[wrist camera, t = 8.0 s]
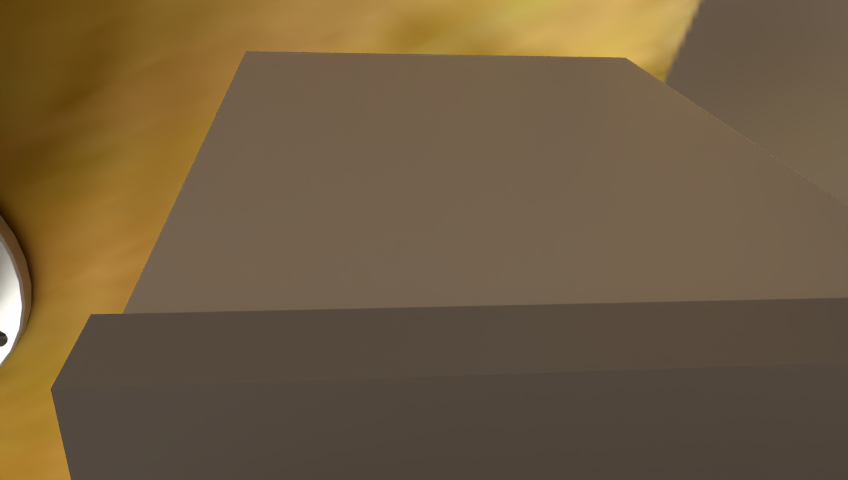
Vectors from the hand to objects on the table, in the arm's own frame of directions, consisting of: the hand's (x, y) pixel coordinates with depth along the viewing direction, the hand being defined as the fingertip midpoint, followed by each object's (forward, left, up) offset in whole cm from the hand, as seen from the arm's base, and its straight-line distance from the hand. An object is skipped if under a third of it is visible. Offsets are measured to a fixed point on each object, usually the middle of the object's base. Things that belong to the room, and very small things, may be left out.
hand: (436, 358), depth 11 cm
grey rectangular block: (0, 0, -1) cm, 1 cm away
